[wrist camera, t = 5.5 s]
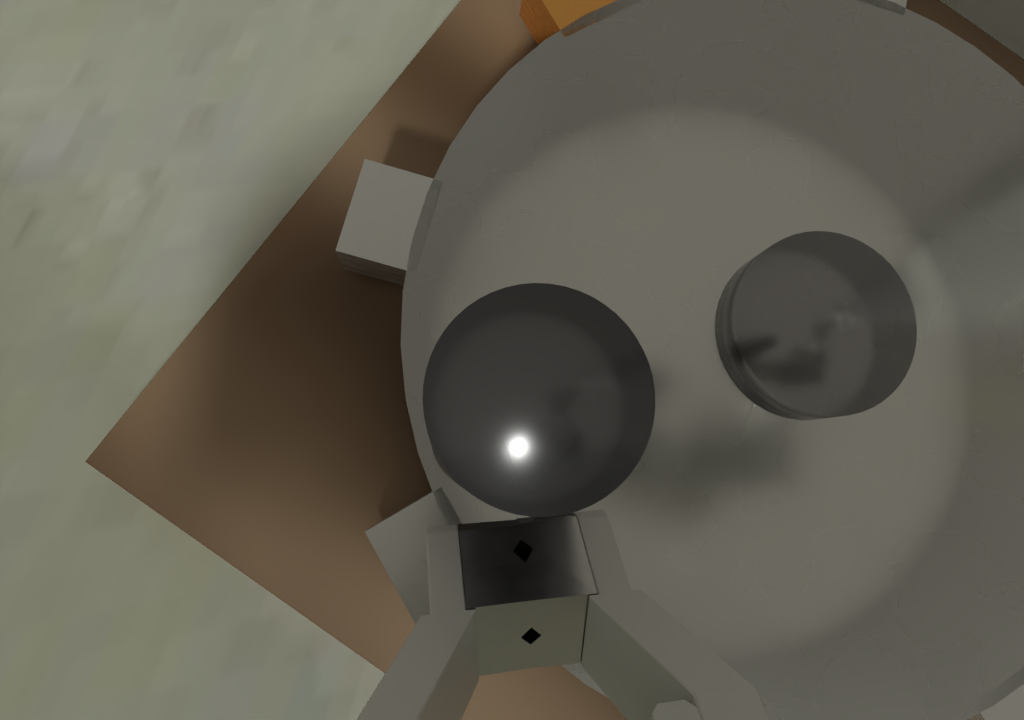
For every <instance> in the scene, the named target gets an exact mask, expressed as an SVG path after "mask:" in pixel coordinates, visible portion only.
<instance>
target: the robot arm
mask: <svg viewBox="0 0 1024 720" xmlns="http://www.w3.org/2000/svg"><path fill="white" fill-rule="evenodd" d="M426 548H427V567H428V587H429V606H430V614H428V615H421V616H420V618H419V619H418V621H417V623H416V624H415V626H414V628H413V629H412V631H411V632H410V634H409V636H408V637H407V639H406V641H405V642H404V644H403V645H402V647H401V649H400V650H399V652H398V654H397V655H396V657H395V658H394V660H393V662H392V663H391V665H390V667H389V668H388V670H387V671H386V673H385V675H384V676H383V678H382V680H381V681H380V683H379V684H378V686H377V688H376V689H375V691H374V693H373V694H372V696H371V697H370V699H369V701H368V702H367V704H366V706H365V707H364V709H363V710H362V712H361V714H360V715H359V717H358V719H357V720H461V719H462V717H463V715H464V712H465V710H466V708H467V706H468V703H469V701H470V699H471V697H472V694H473V692H474V690H475V688H476V685H477V683H478V681H479V676H483V675H490V674H496V673H502V672H509V671H515V670H522V669H528V668H537V667H547V666H557V665H567V664H577V663H581V666H582V667H583V669H584V670H585V671H586V672H587V673H588V674H589V676H590V677H591V678H592V679H593V680H594V682H595V683H596V684H597V685H598V686H599V687H600V689H601V690H602V691H603V692H604V693H605V694H606V696H607V697H608V698H609V699H610V700H611V702H612V703H613V704H614V705H615V706H616V707H617V709H618V710H619V711H620V712H621V713H622V714H623V716H624V717H625V718H626V719H627V720H769V719H768V717H767V714H766V712H765V710H764V707H763V705H762V703H761V700H760V698H759V696H758V693H757V691H756V689H755V688H754V687H753V686H752V685H751V684H750V683H749V682H747V681H746V680H745V679H744V678H743V677H742V676H740V675H739V674H738V673H737V672H736V671H735V670H734V669H732V668H731V667H730V666H729V665H728V664H727V663H725V662H724V661H723V660H722V659H721V658H720V657H718V656H717V655H716V654H715V653H714V652H713V651H711V650H710V649H709V648H708V647H707V646H706V645H704V644H703V643H702V642H701V641H700V640H699V639H698V638H696V637H695V636H694V635H693V634H692V633H691V632H689V631H688V630H687V629H686V628H685V627H684V626H682V625H681V624H680V623H679V622H678V621H677V620H675V619H674V618H673V617H672V616H671V615H670V614H668V613H667V612H666V611H665V610H664V609H663V608H661V607H660V606H659V605H658V604H657V603H656V602H655V601H653V600H652V599H651V598H650V597H649V596H648V595H646V594H645V593H644V592H643V591H642V590H632V588H631V585H630V582H629V579H628V576H627V573H626V570H625V567H624V564H623V561H622V558H621V554H620V551H619V548H618V545H617V542H616V539H615V536H614V533H613V530H612V527H611V524H610V521H609V517H608V514H607V513H606V512H605V511H604V509H602V510H592V511H582V512H575V513H569V514H565V515H560V516H552V517H525V518H517V519H516V520H505V521H492V522H479V523H466V524H458V529H457V524H456V525H444V526H433V527H427V530H426Z"/></svg>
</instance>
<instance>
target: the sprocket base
mask: <svg viewBox="0 0 1024 720" xmlns="http://www.w3.org/2000/svg"><path fill="white" fill-rule="evenodd" d="M521 2H522V0H461V1H460V2H459V4H458V5H457V6H456V7H455V9H454V10H453V11H452V12H451V13H450V15H449V16H448V17H447V18H446V20H445V21H444V22H443V23H442V25H441V26H440V27H439V28H438V29H437V31H436V32H435V33H434V34H433V36H432V37H431V38H430V39H429V40H428V42H427V43H426V44H425V45H424V47H423V48H422V49H421V50H420V52H419V53H418V54H417V55H416V56H415V58H414V59H413V60H412V61H411V63H410V64H409V65H408V66H407V67H406V69H405V70H404V71H403V72H402V74H401V75H400V76H399V77H398V79H397V80H396V81H395V82H394V83H393V85H392V86H391V87H390V88H389V90H388V91H387V92H386V93H385V94H384V96H383V97H382V98H381V99H380V101H379V102H378V103H377V104H376V106H375V107H374V108H373V109H372V110H371V112H370V113H369V114H368V115H367V117H366V118H365V119H364V120H363V121H362V123H361V124H360V125H359V126H358V128H357V129H356V130H355V131H354V133H353V134H352V135H351V136H350V137H349V139H348V140H347V141H346V142H345V144H344V145H343V146H342V147H341V148H340V150H339V151H338V152H337V153H336V155H335V156H334V157H333V158H332V160H331V161H330V162H329V163H328V164H327V166H326V167H325V168H324V169H323V171H322V172H321V173H320V174H319V175H318V177H317V178H316V179H315V180H314V182H313V183H312V184H311V185H310V187H309V188H308V189H307V190H306V191H305V193H304V194H303V195H302V196H301V198H300V199H299V200H298V201H297V202H296V204H295V205H294V206H293V207H292V209H291V210H290V211H289V212H288V214H287V215H286V216H285V217H284V218H283V220H282V221H281V222H280V223H279V225H278V226H277V227H276V228H275V229H274V231H273V232H272V233H271V234H270V236H269V237H268V238H267V239H266V240H265V242H264V243H263V244H262V245H261V247H260V248H259V249H258V250H257V252H256V253H255V254H254V255H253V256H252V258H251V259H250V260H249V261H248V263H247V264H246V265H245V266H244V267H243V269H242V270H241V271H240V272H239V274H238V275H237V276H236V277H235V279H234V280H233V281H232V282H231V283H230V285H229V286H228V287H227V288H226V290H225V291H224V292H223V293H222V294H221V296H220V297H219V298H218V299H217V301H216V302H215V303H214V304H213V306H212V307H211V308H210V309H209V310H208V312H207V313H206V314H205V315H204V317H203V318H202V319H201V320H200V321H199V323H198V324H197V325H196V326H195V328H194V329H193V330H192V331H191V333H190V334H189V335H188V336H187V337H186V339H185V340H184V341H183V342H182V344H181V345H180V346H179V347H178V348H177V350H176V351H175V352H174V353H173V355H172V356H171V357H170V358H169V360H168V361H167V362H166V363H165V364H164V366H163V367H162V368H161V369H160V371H159V372H158V373H157V374H156V375H155V377H154V378H153V379H152V380H151V382H150V383H149V384H148V385H147V387H146V388H145V389H144V390H143V391H142V393H141V394H140V395H139V396H138V398H137V399H136V400H135V401H134V402H133V404H132V405H131V406H130V407H129V409H128V410H127V411H126V412H125V414H124V415H123V416H122V417H121V418H120V420H119V421H118V422H117V423H116V425H115V426H114V427H113V428H112V429H111V431H110V432H109V433H108V434H107V436H106V437H105V438H104V439H103V441H102V442H101V443H100V444H99V445H98V447H97V448H96V449H95V450H94V452H93V453H92V454H91V455H90V456H89V458H88V459H87V460H86V461H85V462H87V463H88V464H89V465H91V466H92V467H94V468H95V469H96V470H98V471H99V472H101V473H102V474H104V475H105V476H106V477H108V478H109V479H111V480H112V481H113V482H115V483H116V484H118V485H119V486H121V487H122V488H123V489H125V490H126V491H128V492H129V493H130V494H132V495H133V496H135V497H136V498H138V499H139V500H140V501H142V502H143V503H145V504H146V505H147V506H149V507H150V508H152V509H153V510H155V511H156V512H157V513H159V514H160V515H162V516H163V517H164V518H166V519H167V520H169V521H170V522H172V523H173V524H174V525H176V526H177V527H179V528H180V529H181V530H183V531H184V532H186V533H187V534H189V535H190V536H191V537H193V538H194V539H196V540H197V541H198V542H200V543H201V544H203V545H204V546H206V547H207V548H208V549H210V550H211V551H213V552H214V553H215V554H217V555H218V556H220V557H221V558H223V559H224V560H225V561H227V562H228V563H230V564H231V565H232V566H234V567H235V568H237V569H238V570H240V571H241V572H242V573H244V574H245V575H247V576H248V577H249V578H251V579H252V580H254V581H255V582H257V583H258V584H259V585H261V586H262V587H264V588H265V589H266V590H268V591H269V592H271V593H272V594H274V595H275V596H276V597H278V598H279V599H281V600H282V601H283V602H285V603H286V604H288V605H289V606H291V607H292V608H293V609H295V610H296V611H298V612H299V613H300V614H302V615H303V616H305V617H306V618H308V619H309V620H310V621H312V622H313V623H315V624H316V625H317V626H319V627H320V628H322V629H323V630H324V631H326V632H327V633H329V634H330V635H332V636H333V637H334V638H336V639H337V640H339V641H340V642H341V643H343V644H344V645H346V646H347V647H349V648H350V649H351V650H353V651H354V652H356V653H357V654H358V655H360V656H361V657H363V658H364V659H366V660H367V661H368V662H370V663H371V664H373V665H374V666H375V667H377V668H378V669H380V670H381V671H383V672H384V673H386V671H387V670H388V668H389V667H390V665H391V663H392V662H393V660H394V658H395V657H396V655H397V654H398V652H399V650H400V649H401V647H402V645H403V644H404V642H405V641H406V639H407V637H408V636H409V634H410V632H411V631H412V629H413V628H414V626H415V622H414V620H413V619H412V617H411V615H410V613H409V611H408V609H407V608H406V606H405V604H404V602H403V600H402V599H401V597H400V595H399V593H398V591H397V590H396V588H395V586H394V584H393V582H392V580H391V579H390V577H389V575H388V573H387V571H386V570H385V568H384V566H383V564H382V562H381V560H380V559H379V557H378V555H377V553H376V551H375V550H374V548H373V546H372V544H371V542H370V541H369V539H368V537H367V535H366V533H365V531H366V530H367V529H369V528H370V527H371V526H373V525H374V524H376V523H378V522H379V521H381V520H383V519H384V518H386V517H388V516H390V515H391V514H393V513H395V512H396V511H398V510H400V509H401V508H403V507H405V506H407V505H408V504H410V503H412V502H413V501H415V500H417V499H419V498H420V497H422V496H424V495H425V494H427V493H429V492H430V491H432V489H431V487H430V484H429V481H428V478H427V476H426V473H425V470H424V468H423V465H422V462H421V460H420V457H419V454H418V451H417V446H416V442H415V438H414V433H413V429H412V425H411V420H410V416H409V412H408V407H407V403H406V398H405V387H404V376H403V366H402V355H401V321H402V297H403V287H404V286H401V285H397V284H394V283H390V282H387V281H383V280H379V279H376V278H372V277H369V276H365V275H362V274H358V273H354V272H351V271H347V270H344V268H343V266H342V264H341V261H340V259H339V257H338V255H337V253H336V251H335V250H336V247H337V244H338V241H339V238H340V235H341V231H342V228H343V225H344V222H345V219H346V216H347V213H348V209H349V206H350V203H351V200H352V197H353V194H354V191H355V188H356V184H357V181H358V178H359V175H360V172H361V169H362V166H363V162H364V159H367V160H371V161H374V162H378V163H381V164H384V165H388V166H391V167H395V168H398V169H402V170H405V171H409V172H412V173H416V174H419V175H422V176H426V177H429V178H433V179H434V177H435V175H436V173H437V171H438V169H439V167H440V165H441V163H442V161H443V159H444V157H445V155H446V153H447V150H448V148H449V146H450V145H451V143H452V142H453V140H454V139H455V137H456V136H457V134H458V133H459V131H460V130H461V129H462V127H463V126H464V124H465V123H466V121H467V120H468V118H469V117H470V115H471V114H472V112H473V111H474V109H475V108H476V106H477V105H478V104H479V103H480V102H481V101H482V99H483V98H484V97H485V96H486V95H487V94H488V93H489V92H490V91H491V89H492V88H493V87H494V86H495V85H496V84H497V83H498V82H499V81H500V79H501V78H502V77H503V76H504V75H505V74H506V73H507V72H508V70H510V69H511V68H512V67H513V66H514V65H516V64H517V63H518V62H519V61H520V60H522V59H523V58H524V57H525V56H526V55H527V54H529V53H530V52H531V51H532V50H533V49H535V48H536V47H537V46H538V45H537V43H536V41H535V40H534V38H533V37H532V35H531V33H530V32H529V30H528V28H527V27H526V25H525V23H524V22H523V20H522V19H521V17H520V15H519V14H520V8H521ZM906 9H909V10H911V11H913V12H915V13H917V14H919V15H921V16H923V17H926V18H928V19H930V20H932V21H934V22H936V23H938V24H939V25H941V26H943V27H944V28H946V29H947V30H949V31H951V32H952V33H954V34H955V35H957V36H959V37H960V38H962V39H964V40H965V41H967V42H968V43H970V44H972V45H973V46H975V47H976V48H978V49H979V50H980V51H981V52H983V53H984V54H985V55H986V56H988V57H989V58H990V59H992V60H993V61H994V62H995V63H997V64H998V65H999V66H1000V67H1002V68H1003V69H1004V70H1006V71H1007V72H1008V73H1009V74H1011V75H1012V76H1013V77H1014V78H1015V79H1016V80H1017V81H1018V82H1019V83H1020V84H1021V85H1022V86H1023V87H1024V59H1022V58H1021V57H1020V56H1018V55H1017V54H1015V53H1014V52H1012V51H1011V50H1010V49H1008V48H1007V47H1005V46H1004V45H1002V44H1001V43H1000V42H998V41H997V40H995V39H994V38H992V37H991V36H990V35H988V34H987V33H985V32H984V31H982V30H981V29H980V28H978V27H977V26H975V25H974V24H972V23H971V22H970V21H968V20H967V19H965V18H964V17H962V16H961V15H960V14H958V13H957V12H955V11H954V10H952V9H951V8H950V7H948V6H947V5H945V4H944V3H942V2H941V1H939V0H907V3H906ZM461 720H627V719H626V718H625V717H624V716H623V714H622V713H621V712H620V711H619V710H618V709H617V707H616V706H615V705H614V704H613V703H612V702H611V700H610V699H609V698H607V697H606V696H604V695H603V694H601V693H599V692H598V691H596V690H594V689H593V688H591V687H589V686H588V685H586V684H584V683H583V682H582V681H580V680H579V679H578V678H577V677H575V676H574V675H573V674H572V673H571V672H569V671H568V670H567V669H566V668H564V667H563V666H562V665H557V666H547V667H537V668H528V669H522V670H515V671H509V672H502V673H496V674H490V675H483V676H479V681H478V683H477V685H476V688H475V690H474V692H473V694H472V697H471V699H470V701H469V703H468V706H467V708H466V710H465V712H464V715H463V717H462V719H461Z"/></svg>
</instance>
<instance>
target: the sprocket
mask: <svg viewBox="0 0 1024 720" xmlns="http://www.w3.org/2000/svg"><path fill="white" fill-rule="evenodd" d="M906 3H907V0H522V2H521V8H520V14H519V15H520V17H521V19H522V20H523V22H524V23H525V25H526V27H527V28H528V30H529V32H530V33H531V35H532V37H533V38H534V40H535V41H536V43H537V45H538V46H537V47H536V48H535V49H533V50H532V51H531V52H530V53H529V54H527V55H526V56H525V57H524V58H523V59H522V60H520V61H519V62H518V63H517V64H516V65H514V66H513V67H512V68H511V69H510V70H508V72H507V73H506V74H505V75H504V76H503V77H502V78H501V79H500V81H499V82H498V83H497V84H496V85H495V86H494V87H493V88H492V89H491V91H490V92H489V93H488V94H487V95H486V96H485V97H484V98H483V99H482V101H481V102H480V103H479V104H478V105H477V106H476V108H475V109H474V111H473V112H472V114H471V115H470V117H469V118H468V120H467V121H466V123H465V124H464V126H463V127H462V129H461V130H460V131H459V133H458V134H457V136H456V137H455V139H454V140H453V142H452V143H451V145H450V146H449V148H448V150H447V153H446V155H445V157H444V159H443V161H442V163H441V165H440V167H439V169H438V171H437V173H436V175H435V177H434V179H433V178H429V177H426V176H422V175H419V174H416V173H412V172H409V171H405V170H402V169H398V168H395V167H391V166H388V165H384V164H381V163H378V162H374V161H371V160H367V159H364V162H363V166H362V169H361V172H360V175H359V178H358V181H357V184H356V188H355V191H354V194H353V197H352V200H351V203H350V206H349V209H348V213H347V216H346V219H345V222H344V225H343V228H342V231H341V235H340V238H339V241H338V244H337V247H336V250H335V251H336V253H337V255H338V257H339V259H340V261H341V264H342V266H343V268H344V270H347V271H351V272H354V273H358V274H362V275H365V276H369V277H372V278H376V279H379V280H383V281H387V282H390V283H394V284H397V285H401V286H404V287H403V297H402V321H401V355H402V366H403V376H404V387H405V398H406V403H407V407H408V412H409V416H410V420H411V425H412V429H413V433H414V438H415V442H416V446H417V451H418V454H419V457H420V460H421V462H422V465H423V468H424V470H425V473H426V476H427V478H428V481H429V484H430V487H431V489H432V491H430V492H429V493H427V494H425V495H424V496H422V497H420V498H419V499H417V500H415V501H413V502H412V503H410V504H408V505H407V506H405V507H403V508H401V509H400V510H398V511H396V512H395V513H393V514H391V515H390V516H388V517H386V518H384V519H383V520H381V521H379V522H378V523H376V524H374V525H373V526H371V527H370V528H369V529H367V530H366V531H365V533H366V535H367V537H368V539H369V541H370V542H371V544H372V546H373V548H374V550H375V551H376V553H377V555H378V557H379V559H380V560H381V562H382V564H383V566H384V568H385V570H386V571H387V573H388V575H389V577H390V579H391V580H392V582H393V584H394V586H395V588H396V590H397V591H398V593H399V595H400V597H401V599H402V600H403V602H404V604H405V606H406V608H407V609H408V611H409V613H410V615H411V617H412V619H413V620H414V622H415V624H416V623H417V621H418V619H419V618H420V616H421V615H428V614H430V606H429V587H428V567H427V548H426V530H427V527H433V526H444V525H456V524H457V529H458V524H466V523H479V522H492V521H505V520H516V519H517V518H525V517H552V516H560V515H565V514H569V513H575V512H582V511H592V510H602V509H604V511H605V512H606V513H607V514H608V517H609V521H610V524H611V527H612V530H613V533H614V536H615V539H616V542H617V545H618V548H619V551H620V554H621V558H622V561H623V564H624V567H625V570H626V573H627V576H628V579H629V582H630V585H631V588H632V590H642V591H643V592H644V593H645V594H646V595H648V596H649V597H650V598H651V599H652V600H653V601H655V602H656V603H657V604H658V605H659V606H660V607H661V608H663V609H664V610H665V611H666V612H667V613H668V614H670V615H671V616H672V617H673V618H674V619H675V620H677V621H678V622H679V623H680V624H681V625H682V626H684V627H685V628H686V629H687V630H688V631H689V632H691V633H692V634H693V635H694V636H695V637H696V638H698V639H699V640H700V641H701V642H702V643H703V644H704V645H706V646H707V647H708V648H709V649H710V650H711V651H713V652H714V653H715V654H716V655H717V656H718V657H720V658H721V659H722V660H723V661H724V662H725V663H727V664H728V665H729V666H730V667H731V668H732V669H734V670H735V671H736V672H737V673H738V674H739V675H740V676H742V677H743V678H744V679H745V680H746V681H747V682H749V683H750V684H751V685H752V686H753V687H754V688H755V689H756V691H757V693H758V696H759V698H760V700H761V703H762V705H763V707H764V710H765V712H766V714H767V717H768V719H769V720H1024V87H1023V86H1022V85H1021V84H1020V83H1019V82H1018V81H1017V80H1016V79H1015V78H1014V77H1013V76H1012V75H1011V74H1009V73H1008V72H1007V71H1006V70H1004V69H1003V68H1002V67H1000V66H999V65H998V64H997V63H995V62H994V61H993V60H992V59H990V58H989V57H988V56H986V55H985V54H984V53H983V52H981V51H980V50H979V49H978V48H976V47H975V46H973V45H972V44H970V43H968V42H967V41H965V40H964V39H962V38H960V37H959V36H957V35H955V34H954V33H952V32H951V31H949V30H947V29H946V28H944V27H943V26H941V25H939V24H938V23H936V22H934V21H932V20H930V19H928V18H926V17H923V16H921V15H919V14H917V13H915V12H913V11H911V10H909V9H906ZM562 666H563V667H564V668H566V669H567V670H568V671H569V672H571V673H572V674H573V675H574V676H575V677H577V678H578V679H579V680H580V681H582V682H583V683H584V684H586V685H588V686H589V687H591V688H593V689H594V690H596V691H598V692H599V693H601V694H603V695H604V696H606V694H605V693H604V692H603V691H602V690H601V689H600V687H599V686H598V685H597V684H596V683H595V682H594V680H593V679H592V678H591V677H590V676H589V674H588V673H587V672H586V671H585V670H584V669H583V667H582V666H581V663H577V664H567V665H562ZM606 697H607V696H606ZM607 698H608V697H607Z"/></svg>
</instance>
